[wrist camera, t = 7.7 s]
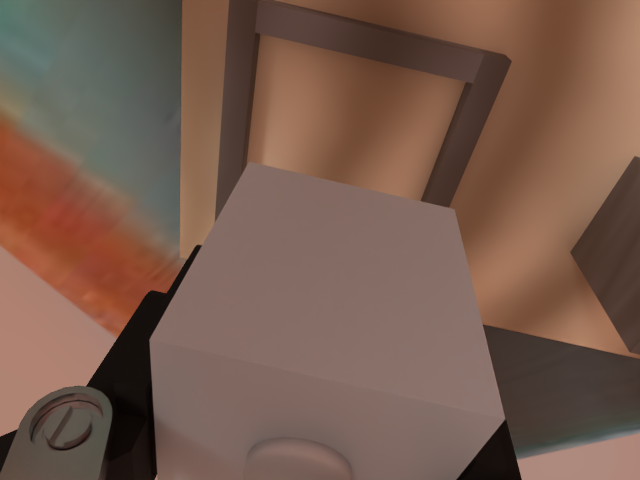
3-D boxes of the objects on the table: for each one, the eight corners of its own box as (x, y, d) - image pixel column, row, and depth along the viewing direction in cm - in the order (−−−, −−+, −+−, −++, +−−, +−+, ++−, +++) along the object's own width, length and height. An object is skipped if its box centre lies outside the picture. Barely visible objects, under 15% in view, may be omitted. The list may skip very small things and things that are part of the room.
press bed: (189, 241, 25) (127, 343, 18) (198, -124, 15) (80, -160, 9) (637, 340, 25) (720, 470, 19) (905, 47, 16) (1233, 119, 10)
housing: (249, 161, 10) (139, 357, 6) (454, 209, 11) (510, 439, 6) (233, 307, 13) (152, 514, 9) (393, 344, 13) (398, 568, 9)
